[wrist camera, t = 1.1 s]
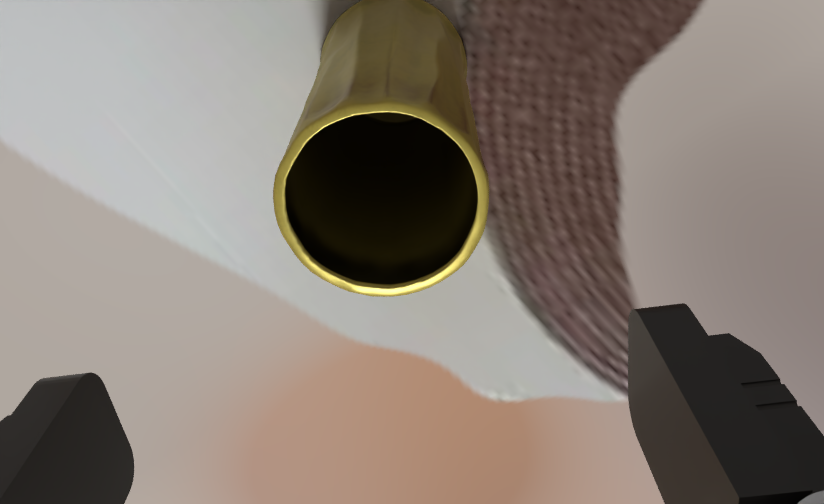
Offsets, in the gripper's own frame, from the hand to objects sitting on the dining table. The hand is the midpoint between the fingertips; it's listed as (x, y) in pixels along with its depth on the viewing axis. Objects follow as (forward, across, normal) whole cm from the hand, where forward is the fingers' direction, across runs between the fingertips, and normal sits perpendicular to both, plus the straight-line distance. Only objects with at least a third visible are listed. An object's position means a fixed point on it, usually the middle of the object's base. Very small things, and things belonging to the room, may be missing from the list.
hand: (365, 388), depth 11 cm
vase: (+21, 0, 0) cm, 21 cm away
